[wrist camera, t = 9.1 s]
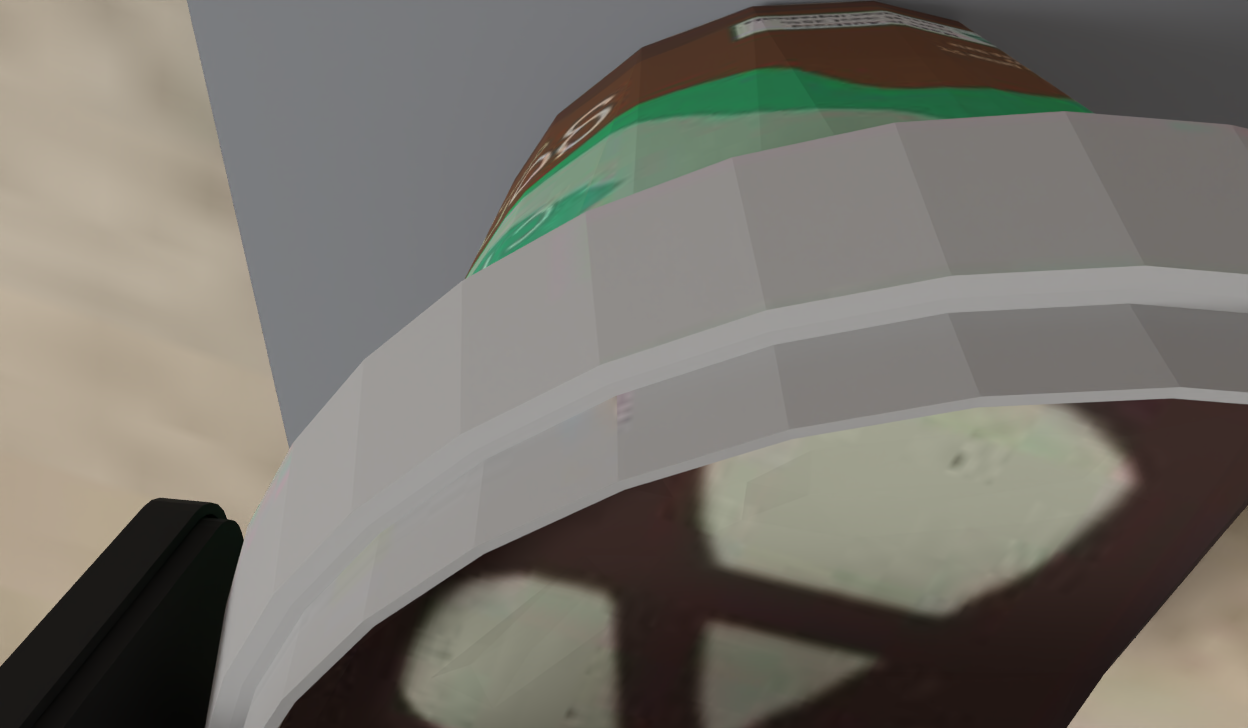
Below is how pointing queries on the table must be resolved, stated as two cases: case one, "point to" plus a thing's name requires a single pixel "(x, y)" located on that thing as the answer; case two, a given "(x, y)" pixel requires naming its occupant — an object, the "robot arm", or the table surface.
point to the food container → (776, 409)
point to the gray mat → (538, 129)
